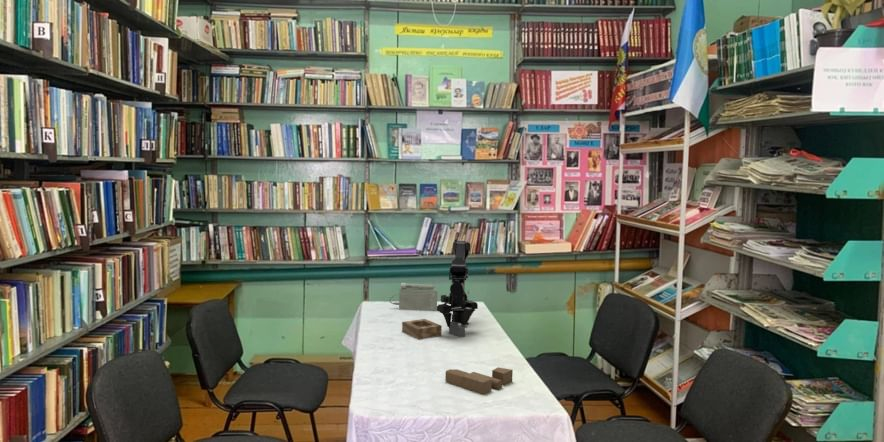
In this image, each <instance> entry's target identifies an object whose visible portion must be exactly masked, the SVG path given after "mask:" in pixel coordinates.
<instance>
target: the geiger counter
mask: <svg viewBox="0 0 884 442" xmlns="http://www.w3.org/2000/svg"><path fill="white" fill-rule="evenodd" d="M395 296H398V302H397V301H396V302H392V301H391V299H393V297H395ZM389 303H390V304H392V305H395V306H398V309H399V311H400V310H401V311H418V310H419V311H420V312H422V311H424V312H438V311H437V306H438V289H437V287H436V286H435V285H434V284H426V283H424V284H422V283H421V284H420V283H407V282H401V284H400V288H399V293H397V294H393V295H392V296H391V297H390V298H389Z"/></svg>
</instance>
